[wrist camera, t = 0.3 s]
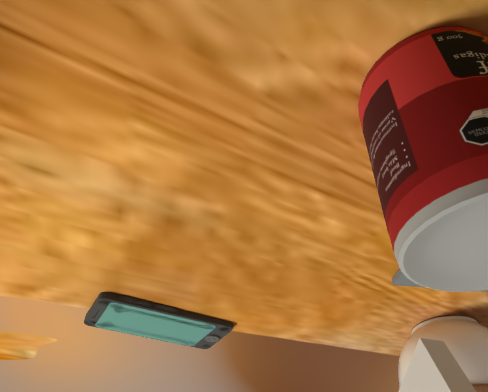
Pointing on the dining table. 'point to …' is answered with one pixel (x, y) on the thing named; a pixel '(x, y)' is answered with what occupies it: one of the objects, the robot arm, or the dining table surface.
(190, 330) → the smartphone
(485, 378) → the lidded bowl
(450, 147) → the canned food
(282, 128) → the dining table surface
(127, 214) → the dining table surface
